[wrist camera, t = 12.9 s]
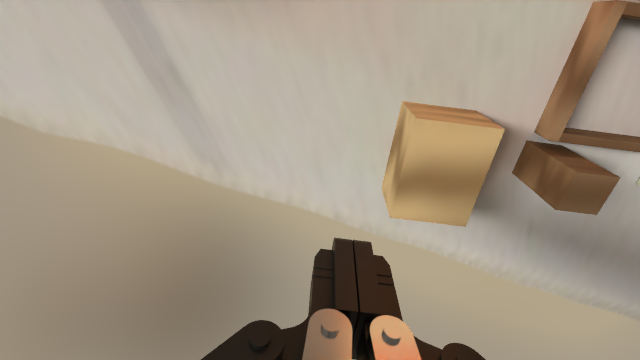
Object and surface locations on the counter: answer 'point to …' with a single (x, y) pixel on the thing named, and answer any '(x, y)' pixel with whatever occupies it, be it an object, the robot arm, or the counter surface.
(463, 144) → the natural wood cube
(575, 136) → the frame
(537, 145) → the post
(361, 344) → the robot arm
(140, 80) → the counter surface
